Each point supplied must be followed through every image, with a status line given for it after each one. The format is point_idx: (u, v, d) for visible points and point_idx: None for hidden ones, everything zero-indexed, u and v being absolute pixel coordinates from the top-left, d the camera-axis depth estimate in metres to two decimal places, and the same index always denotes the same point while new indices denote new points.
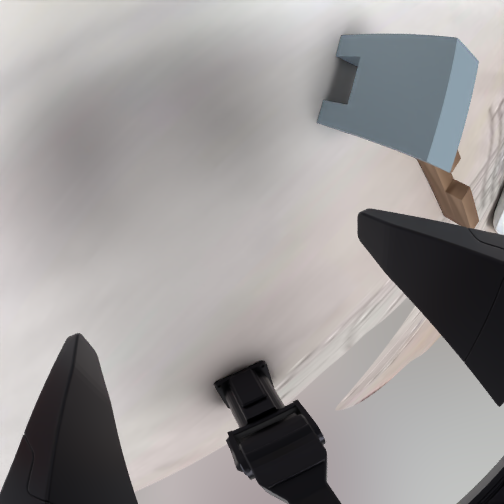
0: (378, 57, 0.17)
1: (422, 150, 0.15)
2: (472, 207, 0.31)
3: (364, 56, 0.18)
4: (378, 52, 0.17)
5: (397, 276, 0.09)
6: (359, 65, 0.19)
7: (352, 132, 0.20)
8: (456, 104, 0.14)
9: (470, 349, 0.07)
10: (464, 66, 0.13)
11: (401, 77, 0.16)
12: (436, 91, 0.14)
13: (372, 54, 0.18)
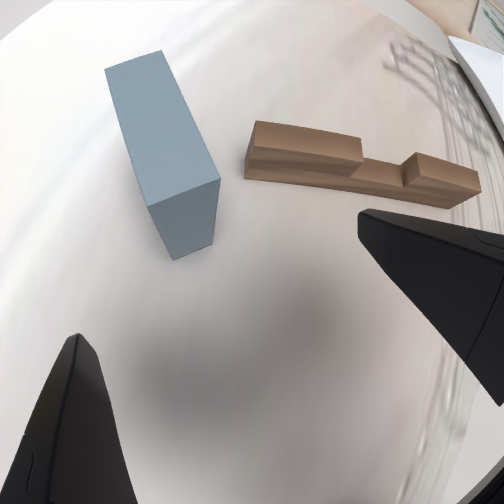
0: None
1: None
2: (448, 167, 0.22)
3: None
4: None
5: (397, 276, 0.09)
6: None
7: None
8: (150, 113, 0.12)
9: (470, 349, 0.07)
10: (135, 75, 0.12)
11: None
12: None
13: None
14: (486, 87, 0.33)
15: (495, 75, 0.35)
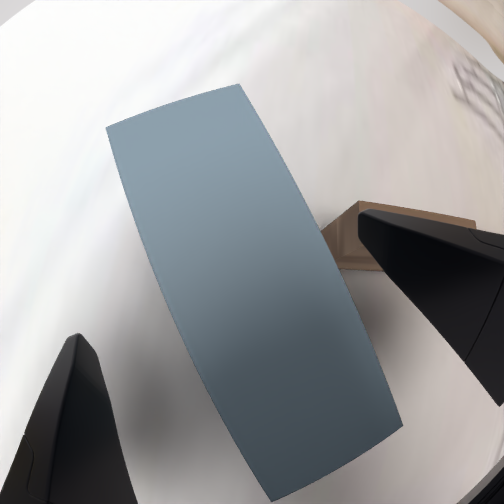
0: None
1: None
2: None
3: None
4: None
5: (397, 276, 0.09)
6: None
7: None
8: (247, 279, 0.05)
9: (470, 349, 0.07)
10: (186, 152, 0.06)
11: None
12: None
13: None
14: None
15: None
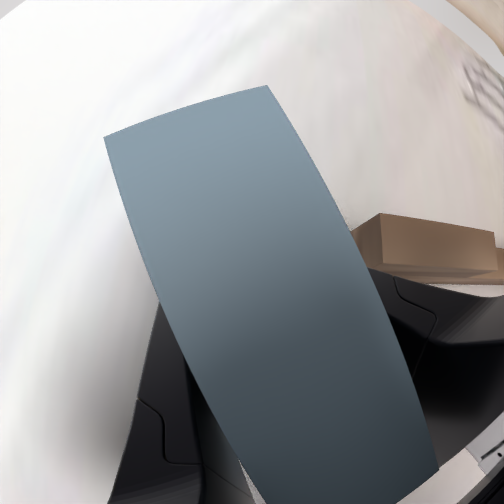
0: None
1: None
2: None
3: None
4: None
5: None
6: None
7: None
8: (285, 333, 0.04)
9: None
10: (206, 171, 0.05)
11: None
12: None
13: None
14: None
15: None
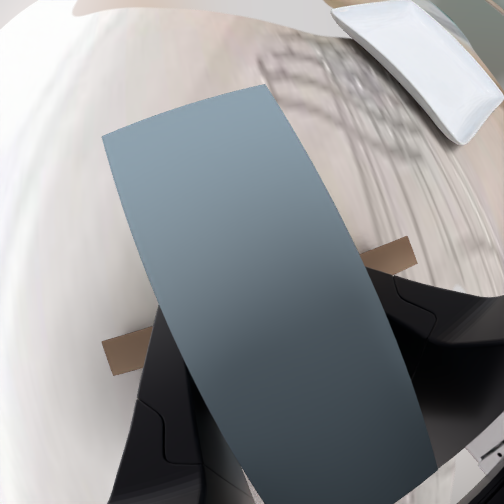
0: None
1: None
2: (364, 262, 0.19)
3: None
4: None
5: None
6: None
7: None
8: (283, 331, 0.04)
9: None
10: (204, 170, 0.05)
11: None
12: None
13: None
14: (396, 56, 0.30)
15: (403, 30, 0.32)
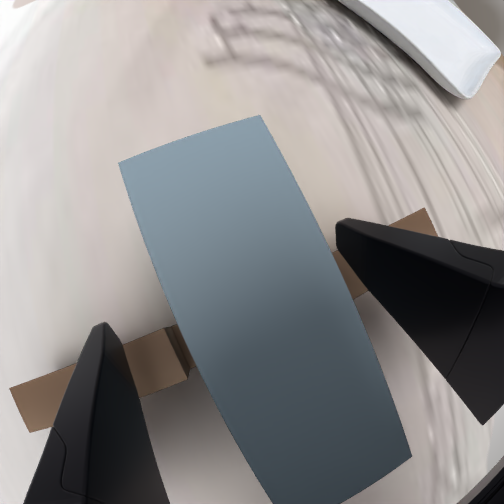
0: None
1: None
2: None
3: None
4: None
5: (376, 289, 0.09)
6: None
7: None
8: (272, 330, 0.05)
9: (451, 367, 0.07)
10: (207, 195, 0.06)
11: None
12: None
13: None
14: (377, 9, 0.24)
15: None
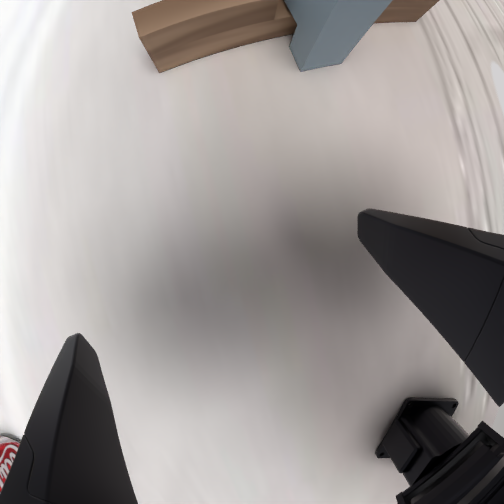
0: None
1: None
2: None
3: None
4: None
5: (397, 276, 0.09)
6: None
7: (315, 39, 0.14)
8: None
9: (470, 350, 0.07)
10: None
11: None
12: None
13: None
14: None
15: None
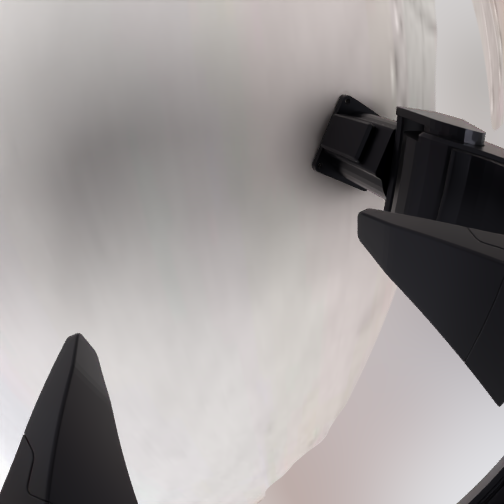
0: None
1: None
2: None
3: None
4: None
5: (397, 276, 0.09)
6: None
7: None
8: None
9: (470, 349, 0.07)
10: None
11: None
12: None
13: None
14: None
15: None
